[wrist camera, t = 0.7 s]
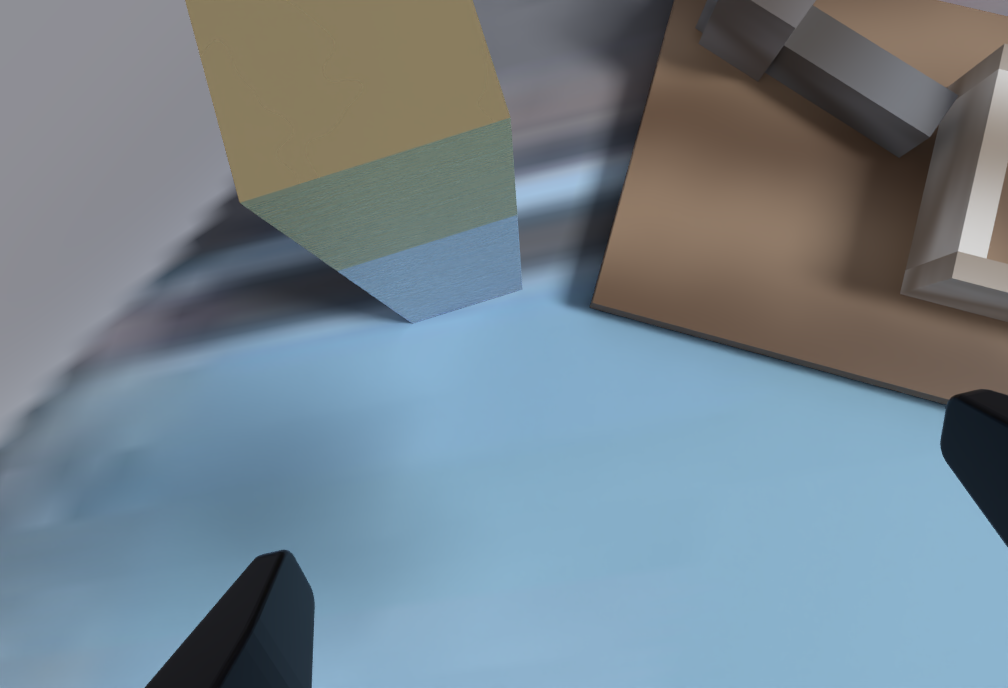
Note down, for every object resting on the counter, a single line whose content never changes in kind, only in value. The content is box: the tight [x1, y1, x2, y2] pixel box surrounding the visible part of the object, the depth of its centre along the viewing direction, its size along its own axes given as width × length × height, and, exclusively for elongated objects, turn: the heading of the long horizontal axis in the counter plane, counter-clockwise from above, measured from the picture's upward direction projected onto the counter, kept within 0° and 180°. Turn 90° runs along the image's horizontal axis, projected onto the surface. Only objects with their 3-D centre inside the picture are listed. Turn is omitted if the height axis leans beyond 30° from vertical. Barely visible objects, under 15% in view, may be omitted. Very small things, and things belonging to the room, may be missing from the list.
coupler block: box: [185, 0, 522, 324], centre depth 15 cm, size 4×4×13 cm
